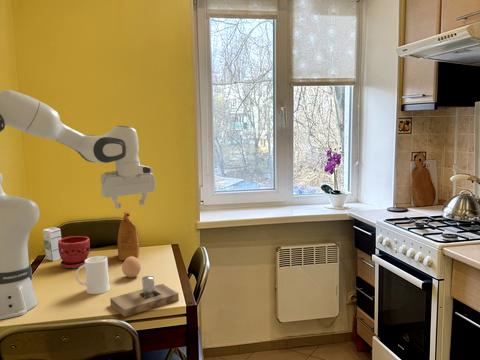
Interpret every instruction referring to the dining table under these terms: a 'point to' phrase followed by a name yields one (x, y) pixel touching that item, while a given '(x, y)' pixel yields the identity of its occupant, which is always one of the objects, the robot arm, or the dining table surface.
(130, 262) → the egg
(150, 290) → the peg
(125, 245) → the coffee package
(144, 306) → the plate
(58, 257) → the syrup box
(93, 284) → the mug
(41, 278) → the dining table surface
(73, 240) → the plant pot
